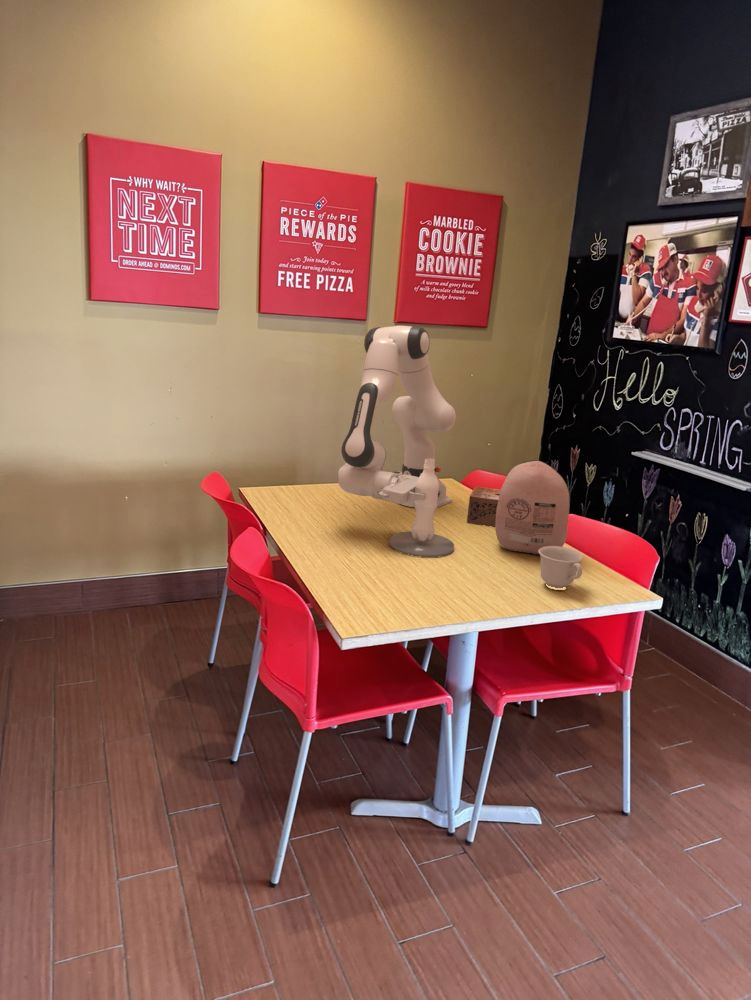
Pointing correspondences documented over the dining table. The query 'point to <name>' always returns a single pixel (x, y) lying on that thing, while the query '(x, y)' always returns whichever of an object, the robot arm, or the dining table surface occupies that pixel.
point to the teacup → (559, 565)
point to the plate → (421, 545)
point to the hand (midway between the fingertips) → (429, 494)
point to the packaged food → (532, 508)
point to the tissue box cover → (483, 506)
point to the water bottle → (426, 502)
